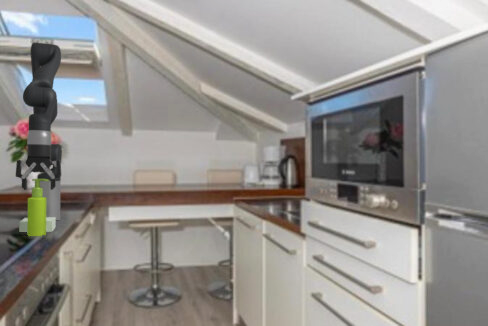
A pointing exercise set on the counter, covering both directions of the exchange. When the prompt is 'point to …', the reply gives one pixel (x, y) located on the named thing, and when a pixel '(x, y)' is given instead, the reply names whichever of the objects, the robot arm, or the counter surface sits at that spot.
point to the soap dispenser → (37, 211)
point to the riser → (49, 224)
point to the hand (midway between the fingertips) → (38, 189)
